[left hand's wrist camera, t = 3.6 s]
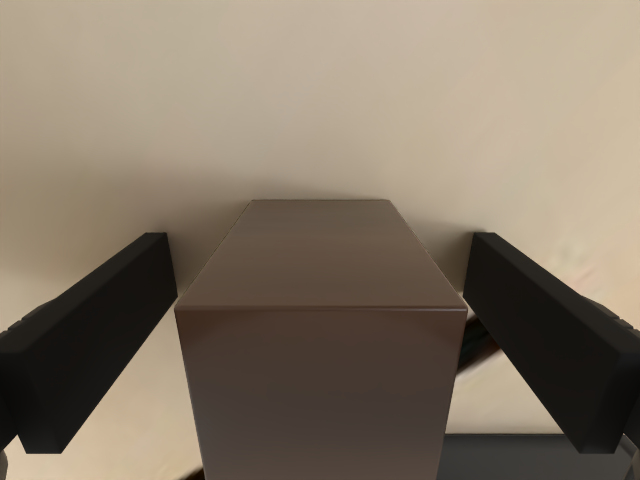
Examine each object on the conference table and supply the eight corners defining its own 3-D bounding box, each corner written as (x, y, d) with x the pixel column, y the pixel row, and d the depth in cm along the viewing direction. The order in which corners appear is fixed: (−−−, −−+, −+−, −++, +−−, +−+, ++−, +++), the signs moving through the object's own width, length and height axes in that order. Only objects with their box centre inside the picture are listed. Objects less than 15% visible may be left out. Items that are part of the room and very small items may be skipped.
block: (250, 199, 12) (171, 307, 6) (390, 199, 12) (470, 307, 6) (259, 317, 14) (208, 500, 8) (380, 317, 14) (433, 500, 8)
